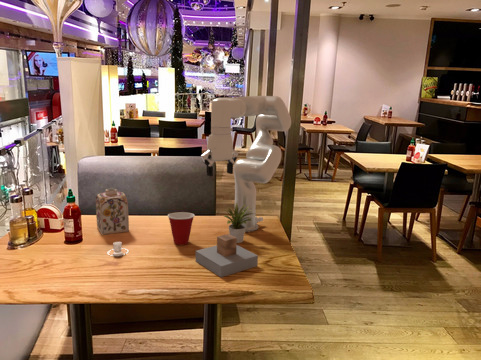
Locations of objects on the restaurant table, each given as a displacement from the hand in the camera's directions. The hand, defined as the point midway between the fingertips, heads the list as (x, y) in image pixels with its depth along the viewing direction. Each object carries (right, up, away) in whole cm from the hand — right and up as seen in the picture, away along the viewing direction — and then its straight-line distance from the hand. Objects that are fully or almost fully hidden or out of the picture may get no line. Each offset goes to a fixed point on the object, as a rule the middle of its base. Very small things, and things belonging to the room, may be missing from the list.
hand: (219, 174), depth 161 cm
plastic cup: (-16, -28, +4) cm, 32 cm away
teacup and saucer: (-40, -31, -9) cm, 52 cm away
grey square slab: (+3, -32, -14) cm, 36 cm away
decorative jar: (-48, -24, +17) cm, 56 cm away
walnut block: (+3, -28, -15) cm, 32 cm away
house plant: (+6, -28, +7) cm, 29 cm away
